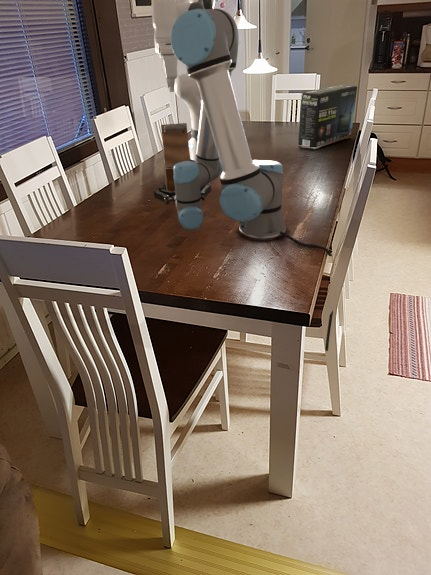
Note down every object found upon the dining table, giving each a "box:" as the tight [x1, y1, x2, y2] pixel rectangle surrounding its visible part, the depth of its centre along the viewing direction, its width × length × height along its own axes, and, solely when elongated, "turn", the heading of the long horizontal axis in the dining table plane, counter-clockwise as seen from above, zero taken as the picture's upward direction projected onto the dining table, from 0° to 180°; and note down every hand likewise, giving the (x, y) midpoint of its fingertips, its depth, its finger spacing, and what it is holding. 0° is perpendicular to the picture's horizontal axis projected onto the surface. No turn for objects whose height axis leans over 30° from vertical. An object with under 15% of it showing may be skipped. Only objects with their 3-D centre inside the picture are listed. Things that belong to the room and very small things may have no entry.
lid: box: [160, 122, 191, 168], centre depth 172 cm, size 16×10×9 cm
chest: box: [162, 158, 175, 192], centre depth 186 cm, size 15×10×11 cm, turn 9°
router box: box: [297, 84, 358, 151], centre depth 238 cm, size 36×11×27 cm, turn 134°
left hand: (171, 89), depth 167 cm, fingers open, 8 cm apart
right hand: (180, 184), depth 169 cm, fingers open, 13 cm apart
